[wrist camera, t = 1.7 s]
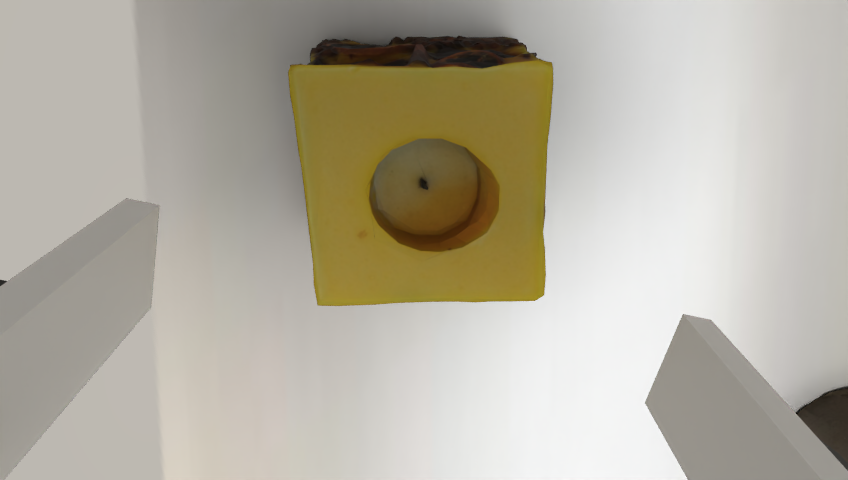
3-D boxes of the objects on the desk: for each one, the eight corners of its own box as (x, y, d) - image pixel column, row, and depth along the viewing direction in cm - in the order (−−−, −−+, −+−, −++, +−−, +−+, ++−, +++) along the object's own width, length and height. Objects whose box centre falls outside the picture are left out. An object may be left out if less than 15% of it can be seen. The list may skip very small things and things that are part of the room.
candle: (319, 38, 32) (277, 58, 22) (518, 32, 32) (559, 49, 22) (335, 226, 35) (305, 310, 26) (513, 221, 35) (546, 303, 26)
